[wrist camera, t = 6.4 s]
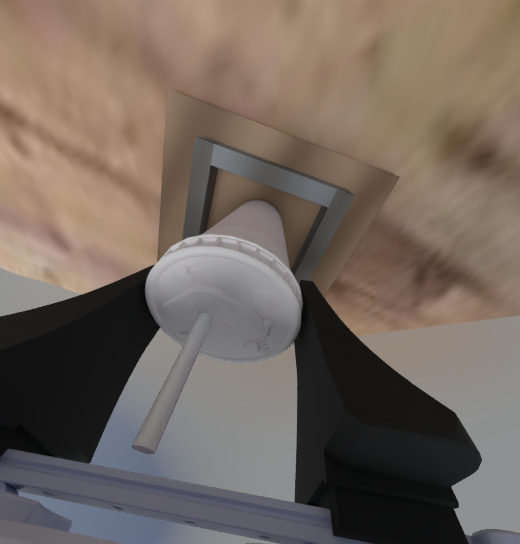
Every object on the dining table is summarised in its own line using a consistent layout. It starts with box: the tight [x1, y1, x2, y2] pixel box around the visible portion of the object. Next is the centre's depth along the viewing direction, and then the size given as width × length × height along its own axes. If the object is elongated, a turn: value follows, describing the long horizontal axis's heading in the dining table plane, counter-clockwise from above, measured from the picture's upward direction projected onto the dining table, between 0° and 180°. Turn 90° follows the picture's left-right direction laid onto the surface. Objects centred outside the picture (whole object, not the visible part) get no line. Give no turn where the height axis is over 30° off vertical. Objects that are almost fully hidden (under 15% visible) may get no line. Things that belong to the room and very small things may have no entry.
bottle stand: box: [157, 88, 400, 297], centre depth 17 cm, size 16×14×3 cm
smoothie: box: [132, 200, 303, 454], centre depth 11 cm, size 6×6×14 cm
